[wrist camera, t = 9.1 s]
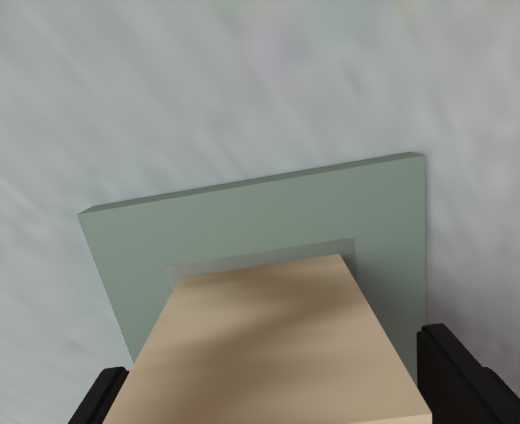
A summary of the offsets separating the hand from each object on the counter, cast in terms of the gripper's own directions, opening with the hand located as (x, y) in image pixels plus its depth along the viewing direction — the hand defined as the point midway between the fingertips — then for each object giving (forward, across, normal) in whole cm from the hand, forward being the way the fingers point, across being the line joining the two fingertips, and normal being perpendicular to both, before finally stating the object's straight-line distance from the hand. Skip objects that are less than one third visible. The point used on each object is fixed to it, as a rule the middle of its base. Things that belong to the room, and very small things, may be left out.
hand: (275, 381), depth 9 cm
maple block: (+2, 0, 0) cm, 2 cm away
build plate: (+3, 0, 0) cm, 3 cm away
